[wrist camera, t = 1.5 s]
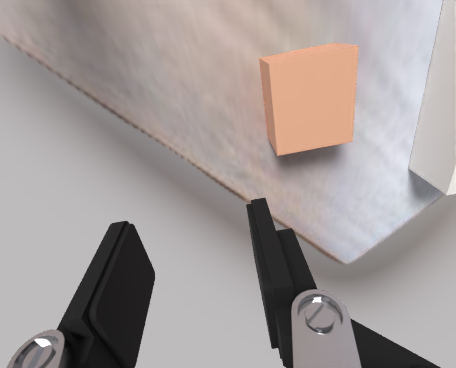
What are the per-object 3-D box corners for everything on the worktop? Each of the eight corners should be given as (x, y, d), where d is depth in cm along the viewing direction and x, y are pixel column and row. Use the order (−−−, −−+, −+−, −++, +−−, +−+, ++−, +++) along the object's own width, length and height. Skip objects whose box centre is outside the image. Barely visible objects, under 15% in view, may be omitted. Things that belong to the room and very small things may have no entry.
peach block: (332, 42, 25) (358, 45, 20) (331, 124, 29) (352, 141, 24) (258, 57, 25) (268, 64, 21) (267, 136, 29) (277, 155, 25)
